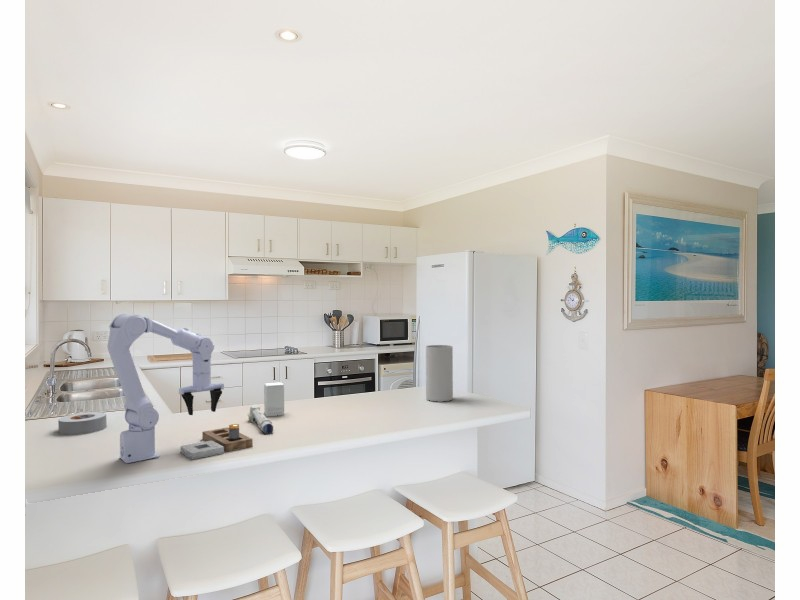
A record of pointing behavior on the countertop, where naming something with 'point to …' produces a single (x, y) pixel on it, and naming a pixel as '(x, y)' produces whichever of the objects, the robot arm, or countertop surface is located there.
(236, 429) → the steel peg
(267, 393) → the supplement box
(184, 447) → the socket block
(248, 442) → the rack
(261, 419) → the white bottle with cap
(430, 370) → the cylinder vase
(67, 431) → the tape roll
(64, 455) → the countertop surface
